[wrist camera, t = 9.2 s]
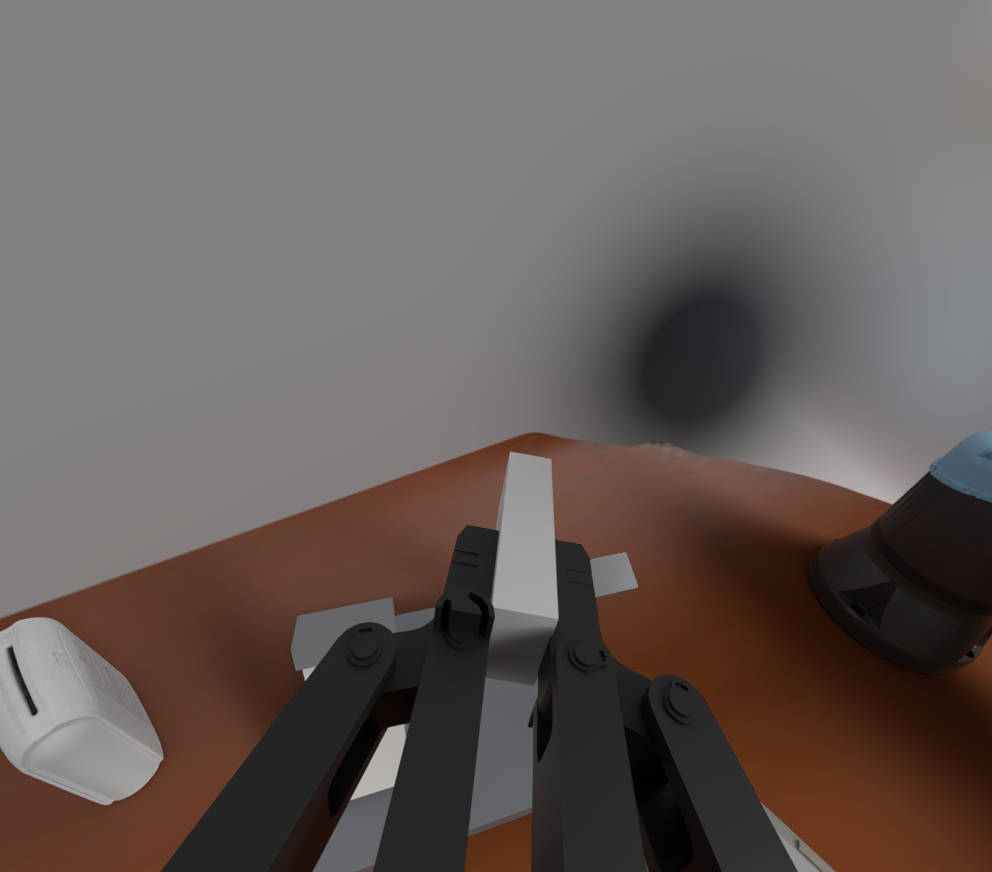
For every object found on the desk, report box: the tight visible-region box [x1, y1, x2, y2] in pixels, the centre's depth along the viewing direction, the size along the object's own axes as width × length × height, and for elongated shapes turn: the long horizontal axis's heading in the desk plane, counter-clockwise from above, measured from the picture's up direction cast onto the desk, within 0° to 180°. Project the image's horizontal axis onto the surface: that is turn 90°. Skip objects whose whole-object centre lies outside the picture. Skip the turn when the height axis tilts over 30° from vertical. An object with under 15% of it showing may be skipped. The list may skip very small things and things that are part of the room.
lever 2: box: [590, 552, 638, 598], centre depth 34 cm, size 2×5×15 cm, turn 106°
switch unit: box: [313, 607, 538, 872], centre depth 35 cm, size 16×24×3 cm, turn 106°
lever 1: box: [291, 597, 406, 800], centre depth 26 cm, size 2×5×15 cm, turn 105°
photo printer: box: [0, 617, 164, 805], centre depth 28 cm, size 10×4×12 cm, turn 51°
